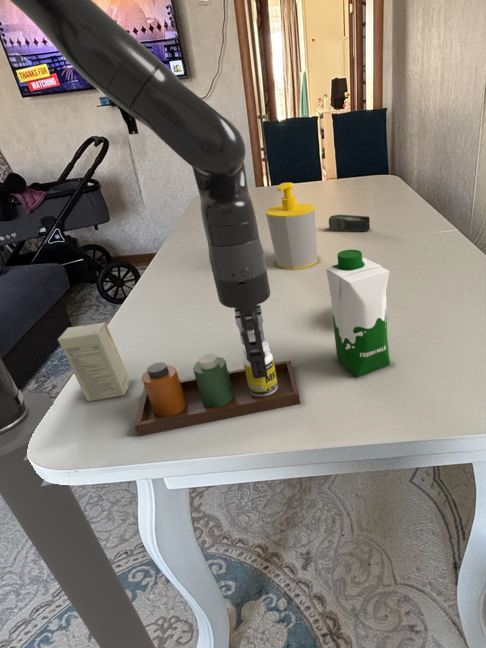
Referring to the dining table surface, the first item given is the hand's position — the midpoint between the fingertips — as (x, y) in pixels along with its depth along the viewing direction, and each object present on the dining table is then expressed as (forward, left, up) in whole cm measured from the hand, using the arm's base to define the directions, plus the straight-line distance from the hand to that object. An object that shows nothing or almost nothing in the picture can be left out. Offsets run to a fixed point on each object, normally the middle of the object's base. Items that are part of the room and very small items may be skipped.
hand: (259, 367), depth 76 cm
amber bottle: (-15, 0, -4) cm, 16 cm away
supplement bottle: (0, 0, -5) cm, 5 cm away
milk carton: (+18, +3, -5) cm, 19 cm away
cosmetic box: (-26, +9, -5) cm, 28 cm away
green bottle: (-7, 0, -4) cm, 9 cm away
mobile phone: (+34, +84, -5) cm, 91 cm away
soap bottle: (+14, +61, -5) cm, 63 cm away
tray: (-7, 0, -5) cm, 8 cm away
